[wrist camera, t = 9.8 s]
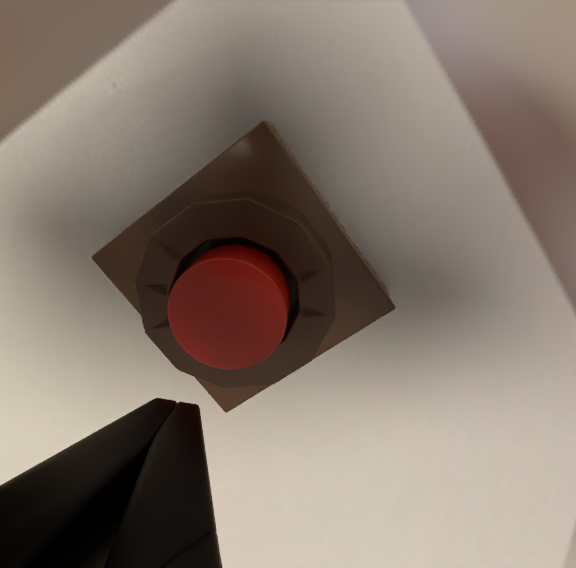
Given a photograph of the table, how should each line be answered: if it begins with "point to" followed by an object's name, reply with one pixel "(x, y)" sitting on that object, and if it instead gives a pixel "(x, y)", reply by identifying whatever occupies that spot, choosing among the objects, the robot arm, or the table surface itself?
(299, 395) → the table surface
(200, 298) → the power button
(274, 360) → the button base
